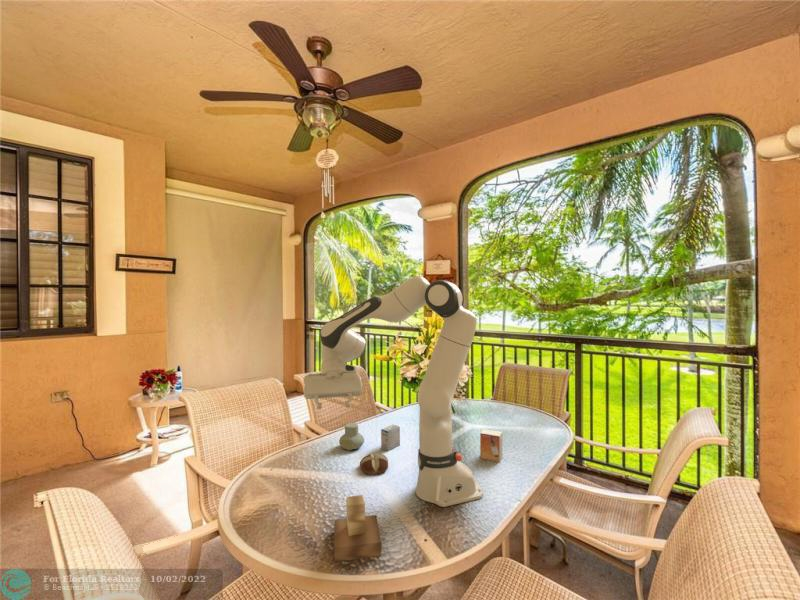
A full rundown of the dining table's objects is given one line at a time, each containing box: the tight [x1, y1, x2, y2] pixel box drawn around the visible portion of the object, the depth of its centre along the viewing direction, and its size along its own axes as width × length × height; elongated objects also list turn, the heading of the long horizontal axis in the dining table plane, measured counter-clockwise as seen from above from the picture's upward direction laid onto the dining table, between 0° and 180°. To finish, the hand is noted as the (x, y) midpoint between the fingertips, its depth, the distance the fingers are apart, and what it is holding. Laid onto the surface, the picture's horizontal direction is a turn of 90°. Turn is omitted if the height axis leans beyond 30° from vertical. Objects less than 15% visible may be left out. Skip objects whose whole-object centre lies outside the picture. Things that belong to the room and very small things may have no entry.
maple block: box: [346, 494, 366, 536], centre depth 100 cm, size 4×4×8 cm
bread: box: [359, 452, 389, 475], centre depth 143 cm, size 11×11×5 cm
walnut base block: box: [333, 514, 382, 563], centre depth 100 cm, size 12×12×4 cm
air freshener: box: [338, 422, 365, 451], centre depth 163 cm, size 11×8×10 cm
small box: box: [479, 428, 504, 463], centre depth 151 cm, size 8×6×10 cm
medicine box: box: [380, 424, 401, 451], centre depth 163 cm, size 8×4×9 cm, turn 141°
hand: (333, 407), depth 125 cm, fingers open, 8 cm apart
